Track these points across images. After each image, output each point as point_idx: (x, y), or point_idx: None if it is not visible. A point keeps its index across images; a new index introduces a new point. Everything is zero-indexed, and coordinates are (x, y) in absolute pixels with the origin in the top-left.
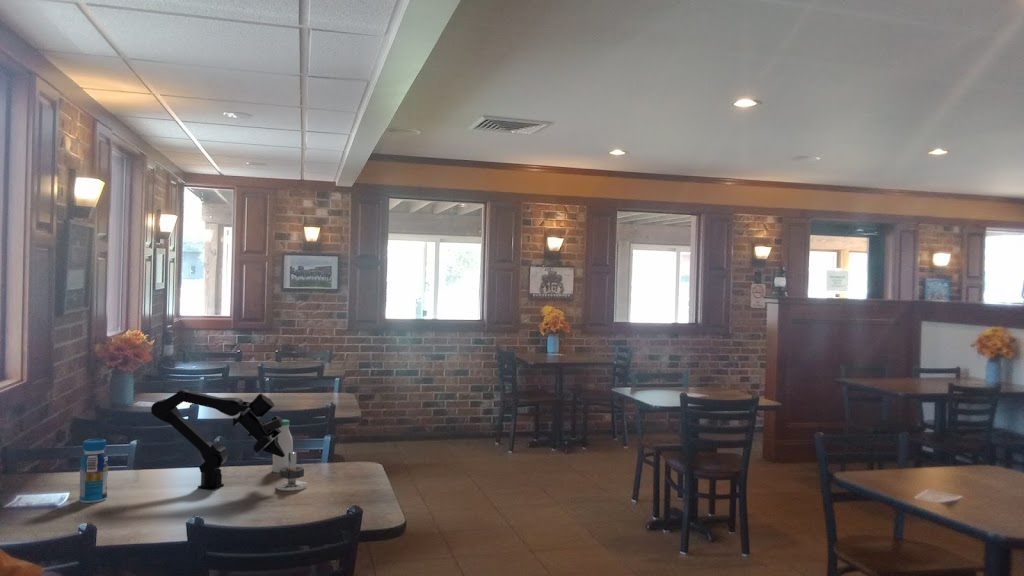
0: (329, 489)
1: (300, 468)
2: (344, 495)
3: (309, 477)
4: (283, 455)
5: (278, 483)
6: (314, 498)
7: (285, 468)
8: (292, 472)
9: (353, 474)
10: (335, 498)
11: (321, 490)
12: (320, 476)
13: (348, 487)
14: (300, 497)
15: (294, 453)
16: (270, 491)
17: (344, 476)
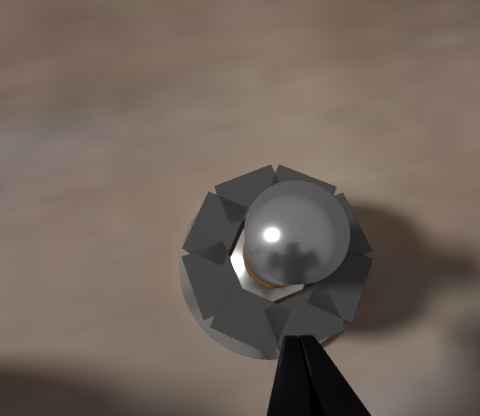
0: (294, 76)
1: (256, 192)
2: (384, 3)
3: (58, 215)
4: (318, 348)
5: (250, 351)
6: (455, 108)
7: (263, 312)
8: (359, 230)
9: (21, 25)
10: (436, 27)
11: (315, 106)
12: (42, 163)
13: (254, 9)
14: (451, 173)
15: (331, 195)
16: (364, 365)
17: (55, 55)
